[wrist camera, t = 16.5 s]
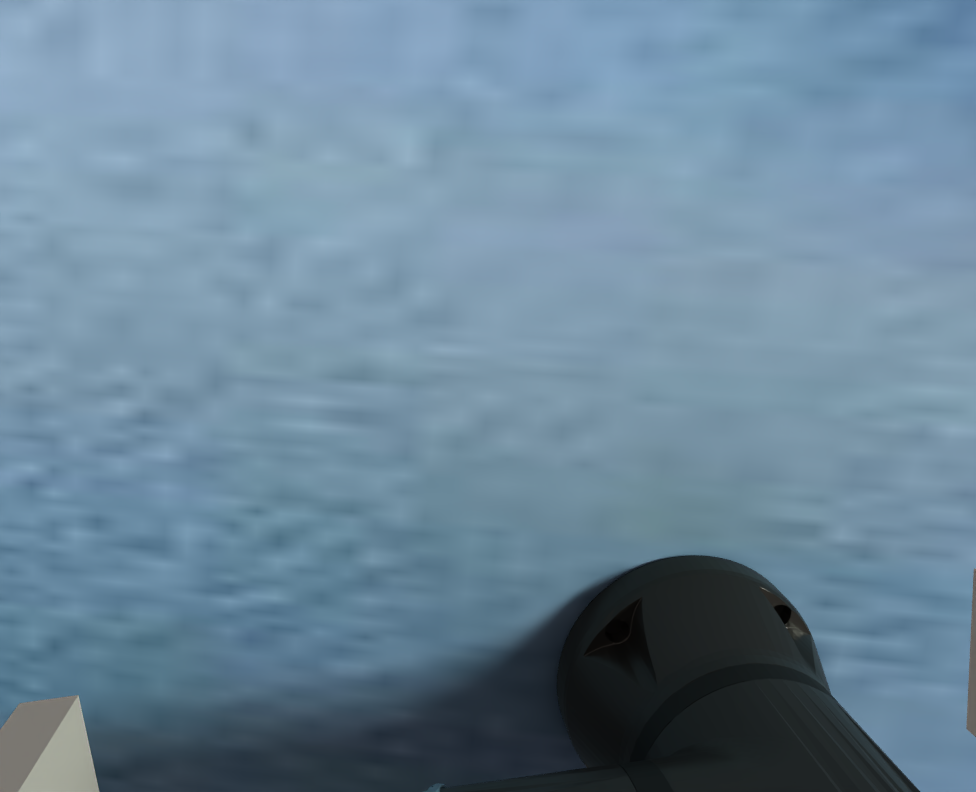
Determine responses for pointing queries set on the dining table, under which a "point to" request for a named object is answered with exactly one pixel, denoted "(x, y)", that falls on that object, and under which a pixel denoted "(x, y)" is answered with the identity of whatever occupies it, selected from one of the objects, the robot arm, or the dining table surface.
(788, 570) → the dining table surface
